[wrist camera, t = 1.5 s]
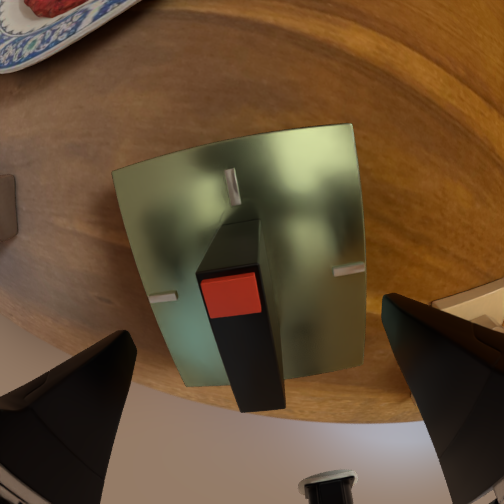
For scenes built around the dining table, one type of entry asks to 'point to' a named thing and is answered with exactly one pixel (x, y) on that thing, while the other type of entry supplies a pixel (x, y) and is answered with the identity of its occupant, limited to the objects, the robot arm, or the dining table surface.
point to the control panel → (275, 237)
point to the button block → (477, 306)
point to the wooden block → (7, 208)
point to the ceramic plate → (49, 27)
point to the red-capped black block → (244, 315)
